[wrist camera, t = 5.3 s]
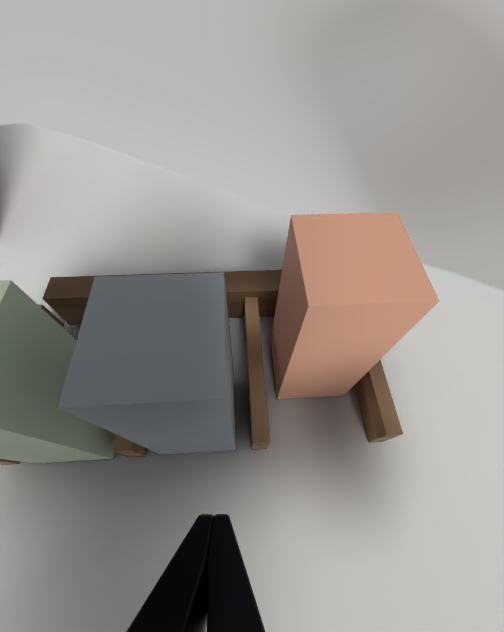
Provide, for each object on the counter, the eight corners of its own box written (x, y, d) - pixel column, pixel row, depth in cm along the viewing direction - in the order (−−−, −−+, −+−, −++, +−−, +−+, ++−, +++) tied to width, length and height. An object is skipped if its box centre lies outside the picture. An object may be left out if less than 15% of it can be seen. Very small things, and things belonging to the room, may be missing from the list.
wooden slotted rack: (382, 441, 16) (408, 431, 14) (3, 464, 15) (-46, 458, 13) (343, 294, 21) (356, 267, 19) (58, 305, 20) (31, 278, 18)
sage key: (112, 458, 15) (-53, 415, 7) (34, 463, 15) (-238, 425, 7) (125, 384, 17) (10, 280, 9) (56, 388, 17) (-128, 284, 9)
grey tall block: (236, 450, 16) (225, 398, 7) (161, 454, 15) (57, 407, 7) (234, 378, 18) (223, 272, 9) (167, 381, 18) (94, 276, 9)
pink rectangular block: (343, 395, 17) (439, 301, 9) (276, 399, 17) (308, 305, 9) (330, 336, 19) (397, 212, 11) (270, 338, 19) (291, 215, 11)
